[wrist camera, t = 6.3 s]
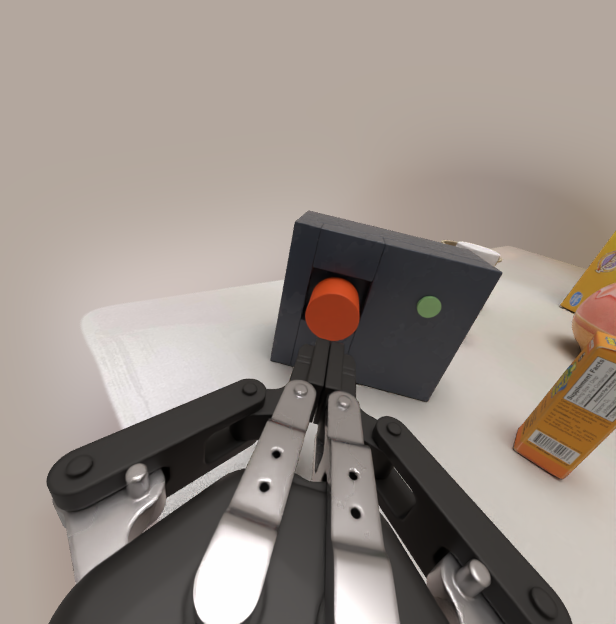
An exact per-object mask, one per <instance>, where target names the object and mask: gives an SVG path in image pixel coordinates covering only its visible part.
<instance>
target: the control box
mask: <svg viewBox="0 0 616 624" xmlns="http://www.w3.org/2000/svg"><path fill="white" fill-rule="evenodd" d="M501 275H502V272H501V271H500V270H498V269H497V268H495V267H494V266H492V265H491V264H489V263H488V262H486V261H485V260H483V259H482V258H481V257H479V256H478V255H476V254H475V253H473V252H472V251H470V250H469V249H464V248H460V247H456V246H452V245H448V244H444V243H439V242H435V241H432V240H428V239H423V238H419V237H415V236H411V235H407V234H403V233H399V232H394V231H391V230H386V229H382V228H378V227H374V226H370V225H366V224H361V223H357V222H354V221H349V220H345V219H341V218H337V217H333V216H329V215H325V214H320V213H317V212H313V211H307V212H306V213H305V214H304V215H303V216H301V217H300V218H299V219H298V220H296V222H295V224H294V230H293V236H292V242H291V247H290V252H289V258H288V264H287V269H286V275H285V280H284V286H283V292H282V297H281V303H280V308H279V314H278V320H277V325H276V331H275V337H274V342H273V348H272V353H271V359H270V360H271V361H275V362H279V363H282V364H286V365H291V366H294V365H295V362H296V359H297V356H298V352H299V349H300V348H301V347H302V346H303V345H304V344H309V345H313V346H315V343H316V339H317V337H318V336H316V335H315V334H314V333H313V332H312V331H311V330H310V329H309V327H308V325H307V323H306V318H305V313H306V309H307V306H308V303H309V300H310V298H311V295H312V292H313V290H314V288H315V286H316V285H317V284H318V283H319V282H321V281H322V280H324V279H327V278H331V277H338V278H343V279H345V280H347V281H349V282H350V283H351V284H353V286H354V287H355V288H356V290H357V292H358V296H359V318H360V319H359V324H358V327H357V329H356V330H355V331H354V333H353V334H351V335H350V336H349V337H347V338H345V339H342V340H338V341H334V342H338V343H342V344H344V354H347V355H351V356H352V357H353V359H354V361H355V363H356V383H358V384H362V385H366V386H370V387H373V388H377V389H381V390H385V391H388V392H392V393H396V394H400V395H403V396H407V397H411V398H415V399H418V400H422V401H426V402H427V401H428V400H429V398H430V396H431V395H432V393H433V391H434V390H435V388H436V386H437V384H438V383H439V381H440V379H441V378H442V376H443V374H444V373H445V371H446V369H447V367H448V366H449V364H450V362H451V361H452V359H453V357H454V355H455V354H456V352H457V350H458V349H459V347H460V345H461V343H462V342H463V340H464V338H465V337H466V335H467V333H468V331H469V330H470V328H471V326H472V325H473V323H474V321H475V320H476V318H477V316H478V314H479V313H480V311H481V309H482V308H483V306H484V304H485V302H486V301H487V299H488V297H489V296H490V294H491V292H492V290H493V289H494V287H495V285H496V284H497V282H498V280H499V278H500V277H501ZM330 342H331V341H330Z"/></svg>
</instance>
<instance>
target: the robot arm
mask: <svg viewBox="0 0 616 624" xmlns="http://www.w3.org/2000/svg"><path fill="white" fill-rule="evenodd" d="M314 415H315V416H314ZM313 418H314V422H313V423H314V424H318V431H317V434H316V437H315V442H314V457H313V472H312V482H311V481H307V480H306V479H304V478H302V477H300V476H299V475H297V474H295V469H296V465H297V462H298V458H299V455H300V451H301V448H302V444H303V441H304V437H305V434H306V431H307V428H308V425H309V422H311V423H312V421H313ZM257 440H259V441H258V443H257V445H256V447H255V450H254V452H253V454H252V456H251V458H250V461H249V463H248V465H247V467H246V469H241V470H237V471H234V472H231V473H229V474H227V475H225V476H223V477H222V478H220V479H219V480H217V481H216V482H215V483H213V484H212V485H210V486H209V487H208V488H206V489H205V490H203V491H202V492H200V493H199V494H198V495H196V496H195V497H193V498H192V499H190V500H189V501H188V502H186V503H185V504H183V505H182V506H180V507H179V508H178V509H176V510H175V511H173V512H172V513H170V514H169V515H168V516H166V517H165V518H163V519H162V520H161V521H159V522H158V523H156V524H155V525H153V526H152V527H151V528H150V529H148V530H146V531H145V532H144V533H143V531H144V530H145V529H146V528H147V527H148V526H150V525H151V524H152V523H154V522H155V521H156V520H157V519H158V517H159V516H160V515H161V513H162V512H163V510H164V507H165V504H166V498H167V497H169V496H170V495H172V494H174V493H175V492H177V491H178V490H180V489H182V488H183V487H185V486H186V485H188V484H190V483H191V482H193V481H195V480H196V479H198V478H199V477H201V476H203V475H204V474H206V473H208V472H209V471H211V470H212V469H214V468H216V467H217V466H219V465H220V464H222V463H224V462H225V461H227V460H229V459H230V458H232V457H233V456H235V455H237V454H238V453H240V452H242V451H243V450H245V449H246V448H248V447H250V446H251V445H253V444H254V443H255V442H256V441H257ZM394 468H395V469H396V470H397V471H398V473H399V474H400V475H401V476H400V475H399V474H398V473H397V471H396V470H395V469H394ZM401 477H402V478H403V479H404V480H403V479H402V478H401ZM404 481H405V482H406V483H407V484H406V483H405V482H404ZM407 485H408V486H409V487H410V488H411V490H412V491H413V492H412V491H411V490H410V488H409V487H408V486H407ZM47 486H48V489H49V491H50V493H51V495H52V497H53V505H54V507H55V509H56V511H57V514H58V516H59V518H60V520H61V522H62V524H63V526H64V527H65V528H66V530H67V536H68V541H69V546H70V552H71V558H72V564H73V570H74V576H75V581H76V585H75V586H74V587H73V588H72V590H71V591H70V592H69V593H68V594H67V596H66V597H65V598H64V600H63V601H62V602H61V604H60V605H59V607H58V609H57V610H56V612H55V613H54V615H53V616H52V618H51V620H50V622H49V624H572V621H571V618H570V615H569V613H568V611H567V609H566V607H565V605H564V604H563V602H562V601H561V599H560V598H559V596H558V595H557V594H556V592H555V591H554V590H553V589H552V588H551V587H550V586H549V584H548V583H547V582H546V581H545V580H544V579H543V578H542V577H541V576H540V574H539V573H538V572H537V571H536V570H535V569H534V568H533V567H532V566H531V565H530V563H529V562H528V561H527V560H526V559H525V558H524V557H523V556H522V555H521V553H520V552H519V551H518V550H517V549H516V548H515V547H514V546H513V545H512V544H511V542H510V541H509V540H508V539H507V538H506V537H505V536H504V535H503V534H502V532H501V531H500V530H499V529H498V528H497V527H496V526H495V525H494V524H493V522H492V521H491V520H490V519H489V518H488V517H487V516H486V515H485V514H484V513H483V511H482V510H481V509H480V508H479V507H478V506H477V505H476V504H475V503H474V501H473V500H472V499H471V498H470V497H469V496H468V495H467V494H466V493H465V491H464V490H463V489H462V488H461V487H460V486H459V485H458V484H457V483H456V482H455V480H454V479H453V478H452V477H451V476H450V475H449V474H448V473H447V472H446V470H445V469H444V468H443V467H442V466H441V465H440V464H439V463H438V462H437V461H436V459H435V458H434V457H433V456H432V455H431V454H430V453H429V452H428V451H427V449H426V448H425V447H424V446H423V445H422V444H421V443H420V442H419V441H418V439H417V438H416V437H415V436H414V435H413V434H412V433H411V432H410V431H409V430H408V428H407V427H406V426H405V425H404V424H403V423H402V422H400V421H399V420H397V419H395V418H393V417H389V416H384V417H381V418H379V419H378V420H377V419H375V418H373V417H371V416H369V415H368V414H366V413H365V412H364V411H363V410H362V409H361V408H360V405H359V402H358V401H357V399H356V363H355V361H354V359H353V357H352V356H351V355H347V354H344V344H342V343H338V342H334V341H331V342H330V340H326V339H323V338H319V337H317V339H316V343H315V346H313V345H309V344H304V345H303V346H302V347H301V348H300V349H299V352H298V356H297V359H296V362H295V365H294V368H293V371H292V374H291V378H290V381H289V382H288V383H287V384H286V386H284V387H282V388H279V389H266V387H265V386H264V384H263V383H261V382H260V381H258V380H255V379H243V380H240V381H238V382H235V383H233V384H231V385H228V386H226V387H223V388H221V389H219V390H216V391H214V392H211V393H209V394H207V395H204V396H202V397H199V398H197V399H195V400H192V401H190V402H188V403H185V404H183V405H180V406H178V407H176V408H173V409H171V410H168V411H166V412H164V413H161V414H159V415H156V416H154V417H152V418H149V419H147V420H144V421H142V422H140V423H137V424H135V425H132V426H130V427H128V428H125V429H123V430H121V431H118V432H116V433H113V434H111V435H109V436H106V437H104V438H101V439H99V440H97V441H94V442H92V443H89V444H87V445H85V446H82V447H80V448H78V449H75V450H73V451H71V452H69V453H68V454H66V455H65V456H63V457H62V458H61V459H59V460H58V461H57V462H56V463H55V464H54V465H53V467H52V468H51V470H50V471H49V473H48V476H47ZM378 505H379V506H380V508H381V509H382V511H383V512H384V514H385V515H386V517H387V519H388V520H389V522H390V523H391V525H392V526H393V528H394V529H395V531H396V532H397V534H398V535H399V537H400V538H401V540H402V542H403V543H404V545H405V546H406V548H407V549H408V551H409V552H410V554H411V555H412V557H413V558H414V560H415V562H416V563H417V565H418V566H419V568H420V569H421V571H422V572H423V574H424V575H425V577H426V578H427V585H426V583H425V582H424V580H423V579H422V577H421V575H420V574H419V572H418V570H417V569H416V567H415V565H414V564H413V562H412V561H411V559H410V557H409V556H408V554H407V552H406V551H405V549H404V547H403V546H402V544H401V543H400V541H399V539H398V538H397V536H396V534H395V533H394V531H393V529H392V528H391V526H390V525H389V523H388V522H387V521H386V519H385V518H384V517H383V515H382V514H381V513H380V512H379V506H378Z"/></svg>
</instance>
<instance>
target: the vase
mask: <svg viewBox="0 0 616 624" xmlns="http://www.w3.org/2000/svg"><path fill="white" fill-rule="evenodd" d="M572 330H573V334H574V337H575V339H576V341H577V342H578V344H579V347H580V350H581V351H582V350H583V349H584V348H585V346H586V345H587V344H588V343H589V341H590V340H591V339H592V337H593V336H594V335H595V333H596V332H597V331H599V332H602V333H605V334H609V335H612V336H615V337H616V283H613V284H611V285H608V286H606V287H604V288H602V289H600V290H598V291H596V292H595V293H593V294H592V295H590V296H589V297H588V298H587V299H586V300H585V301H583V302H582V304H581V305H580V306H579V307H578V309H577V310H576V312H575V314H574V316H573V320H572Z"/></svg>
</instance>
